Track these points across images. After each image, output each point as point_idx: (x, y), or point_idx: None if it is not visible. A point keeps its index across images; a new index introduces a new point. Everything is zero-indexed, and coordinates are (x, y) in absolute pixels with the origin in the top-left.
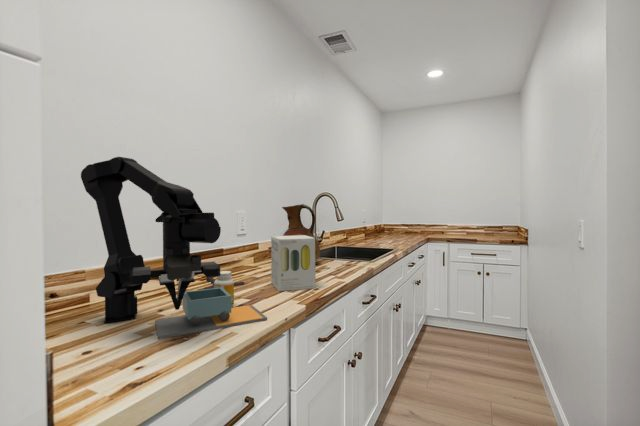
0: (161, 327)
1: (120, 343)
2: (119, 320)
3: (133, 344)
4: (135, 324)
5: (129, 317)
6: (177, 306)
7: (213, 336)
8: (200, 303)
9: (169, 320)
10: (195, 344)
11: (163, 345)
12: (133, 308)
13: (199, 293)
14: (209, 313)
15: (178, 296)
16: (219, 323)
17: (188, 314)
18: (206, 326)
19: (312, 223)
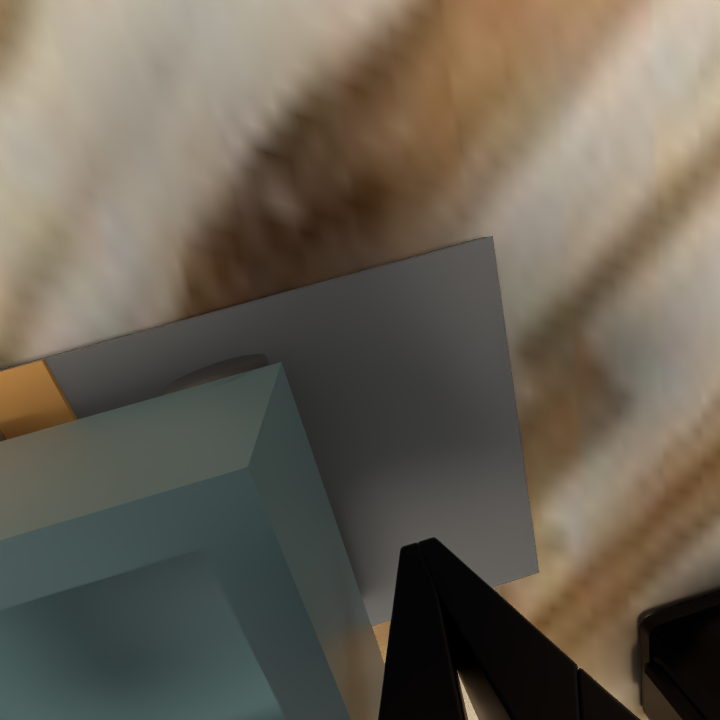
0: (487, 423)
1: (698, 230)
2: (714, 596)
3: (626, 183)
4: (630, 539)
5: (676, 622)
6: (425, 562)
7: (41, 174)
8: (47, 491)
9: (451, 545)
10: (163, 8)
11: (428, 85)
12: (699, 699)
13: None
14: (42, 438)
15: (460, 700)
16: (32, 412)
17: (268, 380)
18: (142, 372)
19: None
